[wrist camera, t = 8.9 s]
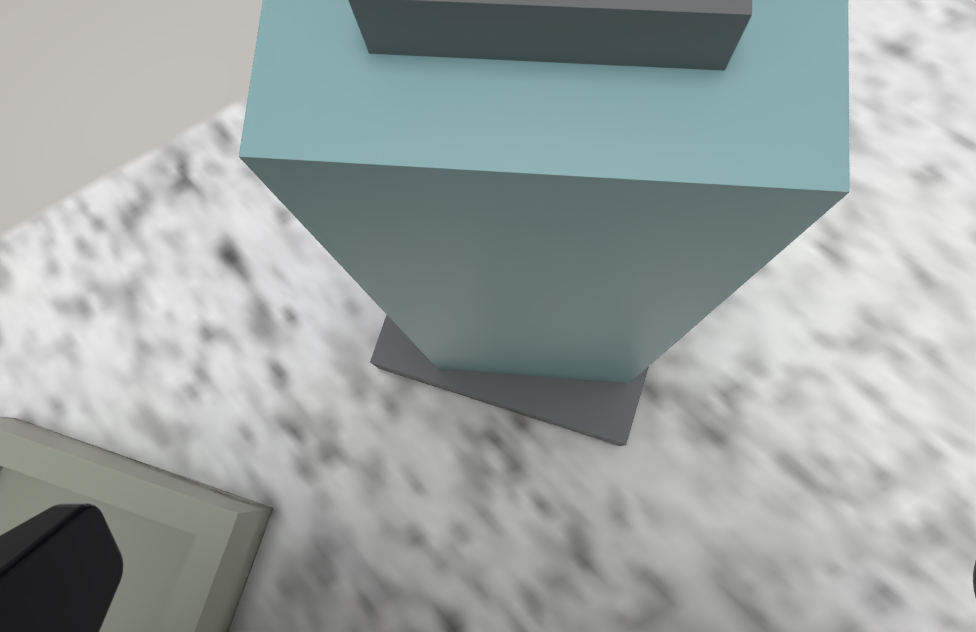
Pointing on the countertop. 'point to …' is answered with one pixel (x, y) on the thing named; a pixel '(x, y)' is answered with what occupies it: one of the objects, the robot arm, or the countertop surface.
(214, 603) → the case
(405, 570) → the countertop surface
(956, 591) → the countertop surface
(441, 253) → the module
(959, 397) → the countertop surface
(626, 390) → the foam pad
